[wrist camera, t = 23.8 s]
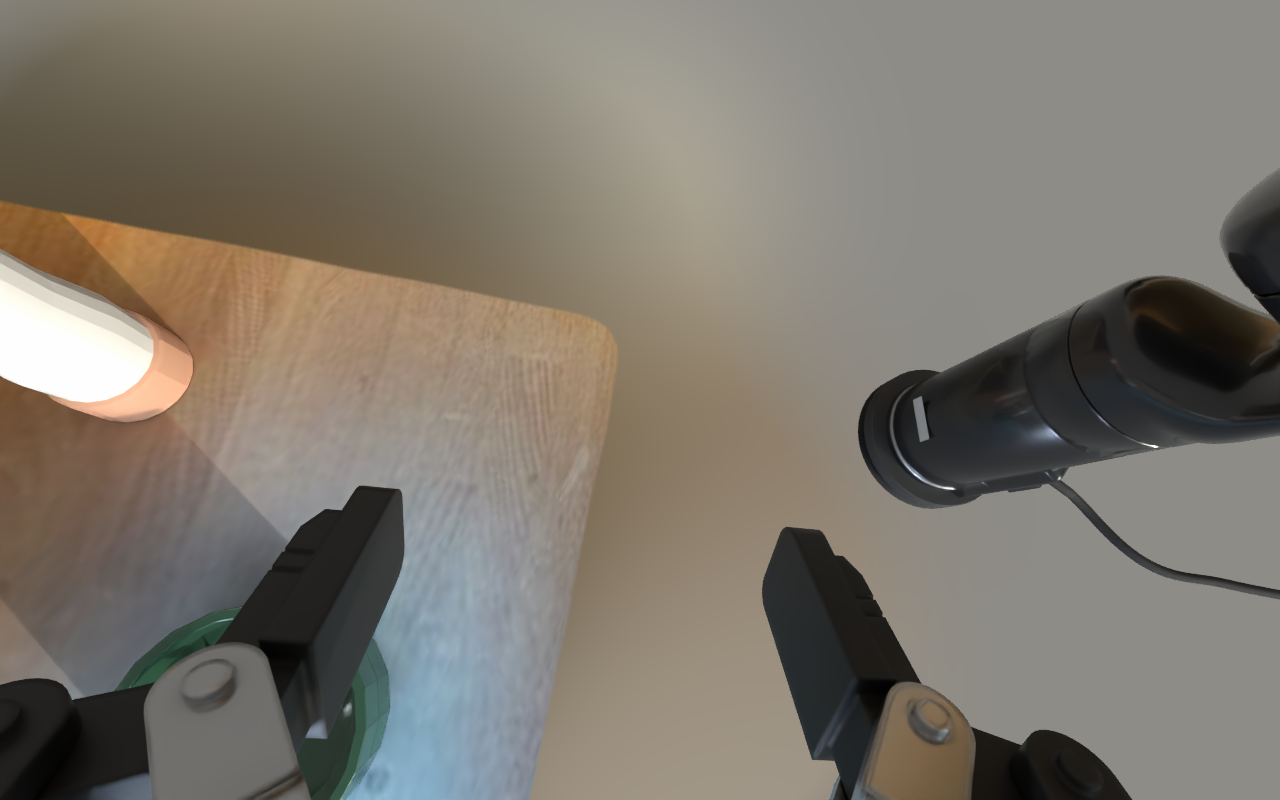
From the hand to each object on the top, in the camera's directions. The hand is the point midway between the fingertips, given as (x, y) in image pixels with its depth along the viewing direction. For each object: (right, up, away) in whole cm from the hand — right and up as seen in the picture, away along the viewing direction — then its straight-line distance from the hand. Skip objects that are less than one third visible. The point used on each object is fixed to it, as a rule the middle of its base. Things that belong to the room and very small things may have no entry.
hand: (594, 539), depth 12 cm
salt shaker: (-35, +5, +28) cm, 45 cm away
